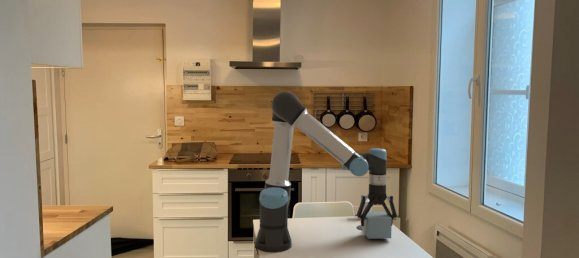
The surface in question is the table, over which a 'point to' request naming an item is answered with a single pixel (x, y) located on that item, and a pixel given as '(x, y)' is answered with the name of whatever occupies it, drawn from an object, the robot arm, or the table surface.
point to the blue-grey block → (378, 225)
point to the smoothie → (367, 204)
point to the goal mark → (359, 227)
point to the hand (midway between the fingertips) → (376, 233)
